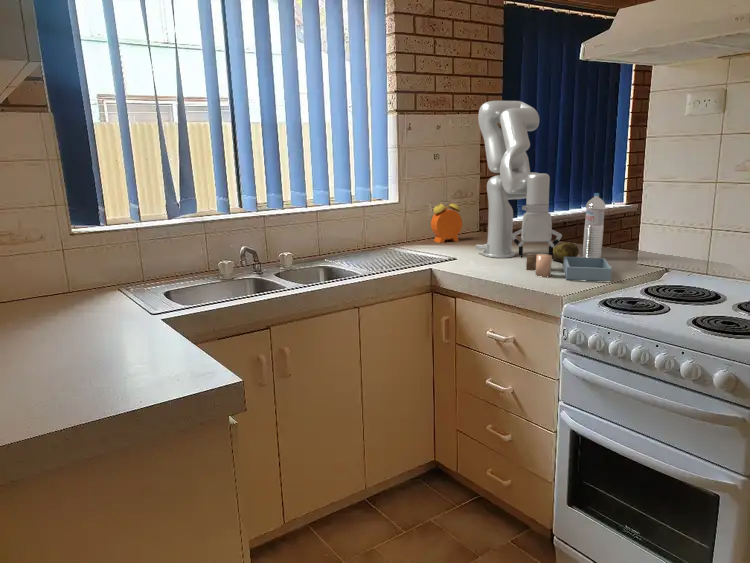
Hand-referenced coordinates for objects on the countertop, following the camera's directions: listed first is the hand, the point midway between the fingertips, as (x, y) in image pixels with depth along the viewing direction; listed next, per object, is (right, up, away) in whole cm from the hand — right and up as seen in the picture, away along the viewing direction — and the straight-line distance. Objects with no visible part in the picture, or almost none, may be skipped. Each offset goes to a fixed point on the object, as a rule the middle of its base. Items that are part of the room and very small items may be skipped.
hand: (535, 257), depth 204 cm
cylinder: (0, -6, -8) cm, 10 cm away
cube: (0, -4, +2) cm, 4 cm away
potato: (+14, -2, +12) cm, 18 cm away
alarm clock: (-24, +10, +60) cm, 65 cm away
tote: (+15, -6, -9) cm, 18 cm away
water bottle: (+27, 0, +18) cm, 32 cm away
